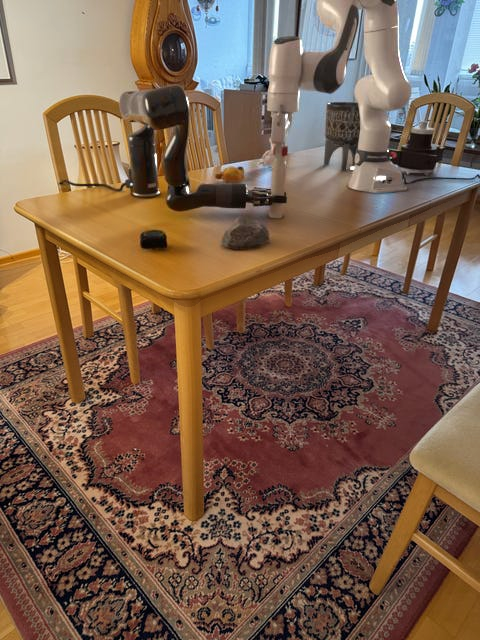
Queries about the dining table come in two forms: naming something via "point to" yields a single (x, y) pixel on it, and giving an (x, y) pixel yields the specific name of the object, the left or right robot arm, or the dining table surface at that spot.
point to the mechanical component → (418, 152)
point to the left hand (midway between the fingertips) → (285, 197)
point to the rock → (245, 234)
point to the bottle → (278, 186)
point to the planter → (342, 130)
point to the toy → (231, 174)
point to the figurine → (268, 157)
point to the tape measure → (153, 239)
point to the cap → (284, 150)
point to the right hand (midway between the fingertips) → (279, 155)
